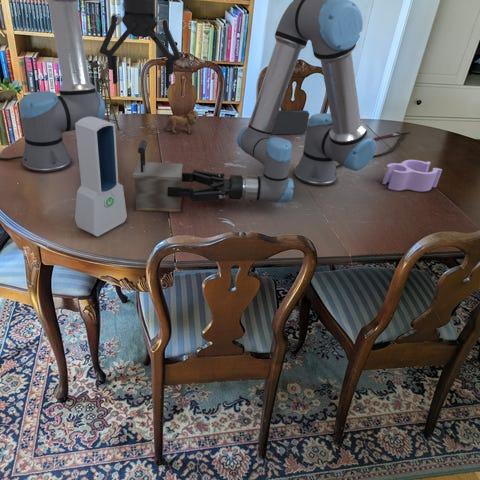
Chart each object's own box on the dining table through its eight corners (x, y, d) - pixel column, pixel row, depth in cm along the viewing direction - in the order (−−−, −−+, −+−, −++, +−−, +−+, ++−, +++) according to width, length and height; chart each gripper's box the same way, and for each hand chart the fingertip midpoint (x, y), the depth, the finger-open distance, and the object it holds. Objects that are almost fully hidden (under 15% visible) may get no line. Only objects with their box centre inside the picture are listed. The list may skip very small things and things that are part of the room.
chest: (135, 209, 139) (134, 177, 134) (139, 194, 147) (138, 164, 142) (180, 211, 141) (181, 180, 135) (181, 196, 149) (182, 166, 143)
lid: (132, 177, 134) (131, 149, 129) (136, 164, 142) (135, 136, 137) (181, 180, 135) (182, 152, 130) (182, 166, 143) (183, 139, 138)
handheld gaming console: (303, 131, 211) (307, 109, 206) (306, 133, 209) (310, 111, 204) (256, 132, 204) (259, 110, 199) (258, 135, 202) (261, 112, 197)
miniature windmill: (110, 136, 185) (105, 57, 169) (90, 133, 186) (84, 54, 170) (120, 129, 193) (116, 52, 177) (100, 125, 194) (95, 49, 178)
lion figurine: (195, 128, 201) (196, 108, 196) (199, 133, 197) (200, 112, 192) (162, 130, 196) (162, 108, 191) (164, 134, 192) (165, 113, 187)
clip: (395, 193, 165) (400, 176, 161) (376, 178, 175) (380, 161, 171) (440, 190, 171) (447, 172, 167) (419, 175, 181) (425, 158, 177)
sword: (405, 131, 224) (406, 128, 224) (410, 133, 222) (411, 130, 222) (362, 142, 208) (362, 140, 208) (367, 144, 206) (368, 142, 206)
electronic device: (94, 238, 124) (84, 130, 108) (75, 229, 127) (62, 122, 111) (127, 220, 133) (123, 118, 117) (108, 212, 136) (101, 111, 120)
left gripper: (83, -9, 108) (90, 84, 120) (190, 2, 111) (188, 91, 122) (89, -12, 115) (96, 77, 126) (191, -2, 117) (188, 84, 129)
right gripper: (243, 216, 136) (166, 212, 133) (238, 182, 154) (170, 179, 152) (246, 193, 132) (166, 189, 129) (241, 161, 150) (170, 157, 148)
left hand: (141, 84), depth 124 cm, fingers open, 13 cm apart
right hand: (168, 183), depth 141 cm, fingers closed on chest, 9 cm apart
